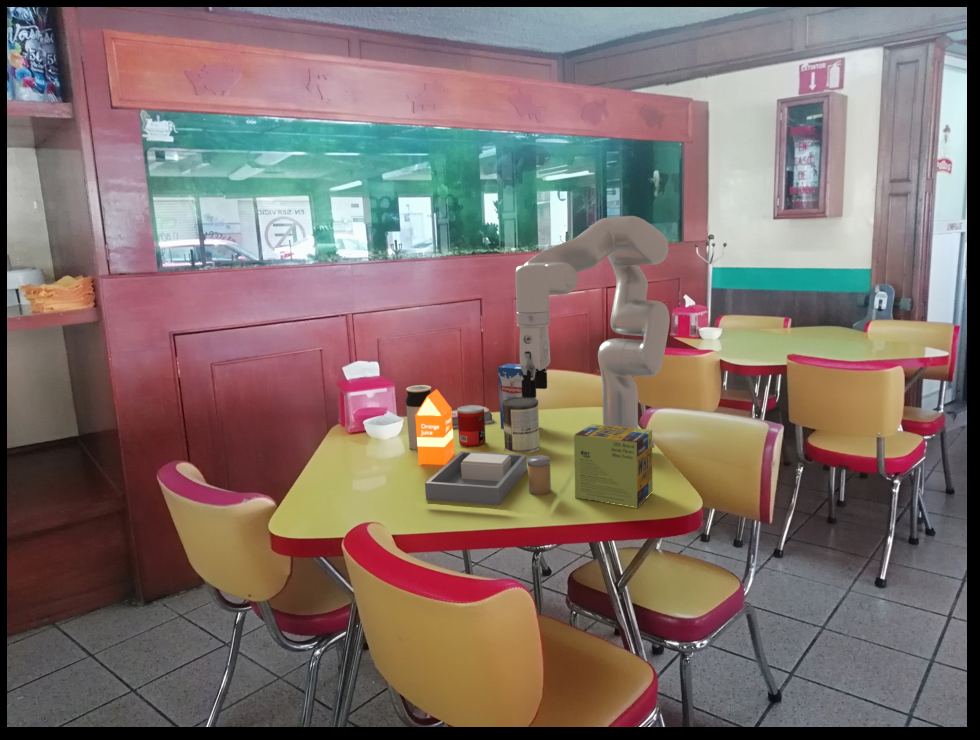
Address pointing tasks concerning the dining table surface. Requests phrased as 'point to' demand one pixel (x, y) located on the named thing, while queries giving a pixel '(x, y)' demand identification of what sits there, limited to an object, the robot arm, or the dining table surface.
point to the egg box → (485, 466)
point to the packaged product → (486, 416)
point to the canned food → (471, 426)
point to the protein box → (613, 464)
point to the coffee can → (521, 424)
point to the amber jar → (539, 475)
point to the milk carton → (509, 384)
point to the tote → (473, 482)
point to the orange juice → (434, 430)
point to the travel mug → (415, 409)
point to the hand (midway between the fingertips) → (534, 392)
